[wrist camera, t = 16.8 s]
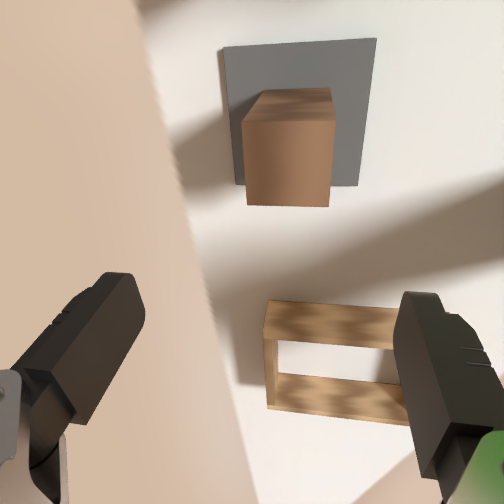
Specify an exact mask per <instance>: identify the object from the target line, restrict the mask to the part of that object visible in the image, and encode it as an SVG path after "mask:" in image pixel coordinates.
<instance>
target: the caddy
mask: <svg viewBox="0 0 504 504" xmlns="http://www.w3.org/2000/svg"><path fill="white" fill-rule="evenodd" d="M398 312H399V309H391V308H376V307H361V306H346V305H331V304H316V303H302V302H287V301H272V300H268V304H267V310H266V316H265V322H264V327H263V346H264V363H265V379H266V396H267V409H271V410H279V411H288V412H296V413H304V414H312V415H321V416H329V417H337V418H345V419H354V420H362V421H370V422H378V423H387V424H395V425H403V426H410V424H409V419H408V414H407V410H406V405H405V401H404V396H403V392H402V387H401V385H392V384H383V383H373V382H363V381H353V380H344V379H334V378H324V377H314V376H305V375H295V374H285V373H278V341H277V340H286V341H298V342H310V343H321V344H333V345H344V346H356V347H368V348H379V349H391V350H393V331H394V327H395V323H396V319H397V315H398ZM446 313H448V314H450V313H449V312H446Z"/></svg>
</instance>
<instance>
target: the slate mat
mask: <svg viewBox="0 0 504 504" xmlns="http://www.w3.org/2000/svg"><path fill="white" fill-rule="evenodd" d="M376 41H377V38H364V39H347V40H331V41H315V42H298V43H282V44H265V45H249V46H233V47H223V52H224V63H225V74H226V84H227V95H228V106H229V117H230V127H231V138H232V149H233V159H234V170H235V181H236V185H246V182H245V168H244V154H243V140H242V125H241V122H242V120H243V119H244V118H245V116H246V115H247V114H248V112H249V111H250V109H251V108H252V107H253V105H254V104H255V103H256V101H257V100H258V98H259V97H260V96H261V94H262V93H263V92H264V90H269V89H299V88H329V87H330V90H331V95H332V101H333V106H334V112H335V117H336V127H335V139H334V150H333V162H332V174H331V185H330V186H358V179H359V172H360V164H361V156H362V149H363V141H364V133H365V126H366V118H367V110H368V103H369V95H370V87H371V80H372V72H373V64H374V57H375V49H376Z"/></svg>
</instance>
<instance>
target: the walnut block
mask: <svg viewBox="0 0 504 504" xmlns="http://www.w3.org/2000/svg"><path fill="white" fill-rule="evenodd" d="M241 125H242V140H243V154H244V168H245V182H246V196H247V205H260V206H302V207H329V197H330V185H331V174H332V162H333V150H334V139H335V127H336V117H335V112H334V106H333V101H332V95H331V90H330V87H329V88H299V89H269V90H264V92H263V93H262V94H261V96H260V97H259V98H258V100H257V101H256V103H255V104H254V105H253V107H252V108H251V109H250V111H249V112H248V114H247V115H246V116H245V118H244V119H243V120H242V122H241Z"/></svg>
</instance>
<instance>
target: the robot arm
mask: <svg viewBox="0 0 504 504" xmlns="http://www.w3.org/2000/svg"><path fill="white" fill-rule="evenodd" d="M144 321H145V308H144V305H143V302H142V299H141V296H140V293H139V290H138V287H137V284H136V281H135V278H134V277H133V275H132V274H130V273H115V272H106V273H104V274H103V275H102V276H101V277H100V278H99V279H98V280H97V282H96V283H95V284H94V285H93V286H92V287H89V288H87V289H85V290H84V291H82V292H81V293H79V294H78V295H77V296H75V297H74V298H73V299H72V300H71V301H70V302H69V303H68V304H67V305H66V306H65V308H64V309H63V310H62V313H61V314H60V313H59V314H58V316H57V317H56V318H55V319H54V320H53V321H52V324H51V325H49V326H48V327H47V328H46V329H45V330H44V331H43V333H42V334H41V335H40V336H39V337H38V338H37V339H36V340H35V341H34V343H33V344H32V345H31V346H30V347H29V348H28V349H27V351H26V352H25V353H24V354H23V355H22V356H21V357H20V359H19V360H18V361H17V362H16V363H15V364H14V365H13V366H12V367H11V368H10V369H9V370H8V369H6V370H0V504H69V492H68V471H67V453H66V438H65V435H64V433H63V432H64V431H65V429H66V428H67V426H68V424H69V423H74V424H80V425H87V423H88V421H89V419H90V418H91V416H92V414H93V412H94V411H95V409H96V407H97V405H98V404H99V402H100V400H101V399H102V397H103V395H104V393H105V391H106V390H107V388H108V386H109V385H110V383H111V381H112V379H113V378H114V376H115V374H116V372H117V371H118V369H119V367H120V365H121V364H122V362H123V360H124V359H125V357H126V355H127V353H128V352H129V350H130V348H131V346H132V344H133V343H134V341H135V339H136V338H137V336H138V334H139V332H140V331H141V329H142V327H143V324H144ZM483 349H484V348H483V346H482V344H481V342H480V340H479V338H478V336H477V334H476V332H475V330H474V329H473V328H472V327H471V326H470V325H469V324H468V323H467V322H466V321H465V320H464V319H463V318H462V317H461V316H460V315H459V314H448V313H446V312H445V310H444V307H443V305H442V303H441V300H440V298H439V296H438V295H437V294H436V293H426V292H410V291H405V292H404V294H403V297H402V300H401V304H400V308H399V312H398V315H397V319H396V323H395V327H394V331H393V350H394V355H395V360H396V365H397V369H398V374H399V378H400V383H401V387H402V392H403V396H404V401H405V405H406V410H407V414H408V419H409V424H410V428H411V433H412V437H413V442H414V446H415V451H416V455H417V459H418V464H419V469H420V473H421V477H422V478H428V479H434V480H438V482H439V486H440V490H441V494H442V499H441V501H440V503H439V504H504V389H503V386H502V384H501V382H500V380H499V378H498V376H497V374H496V372H495V370H494V368H492V367H491V362H490V360H489V358H488V356H487V354H486V352H484V351H483Z"/></svg>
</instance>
